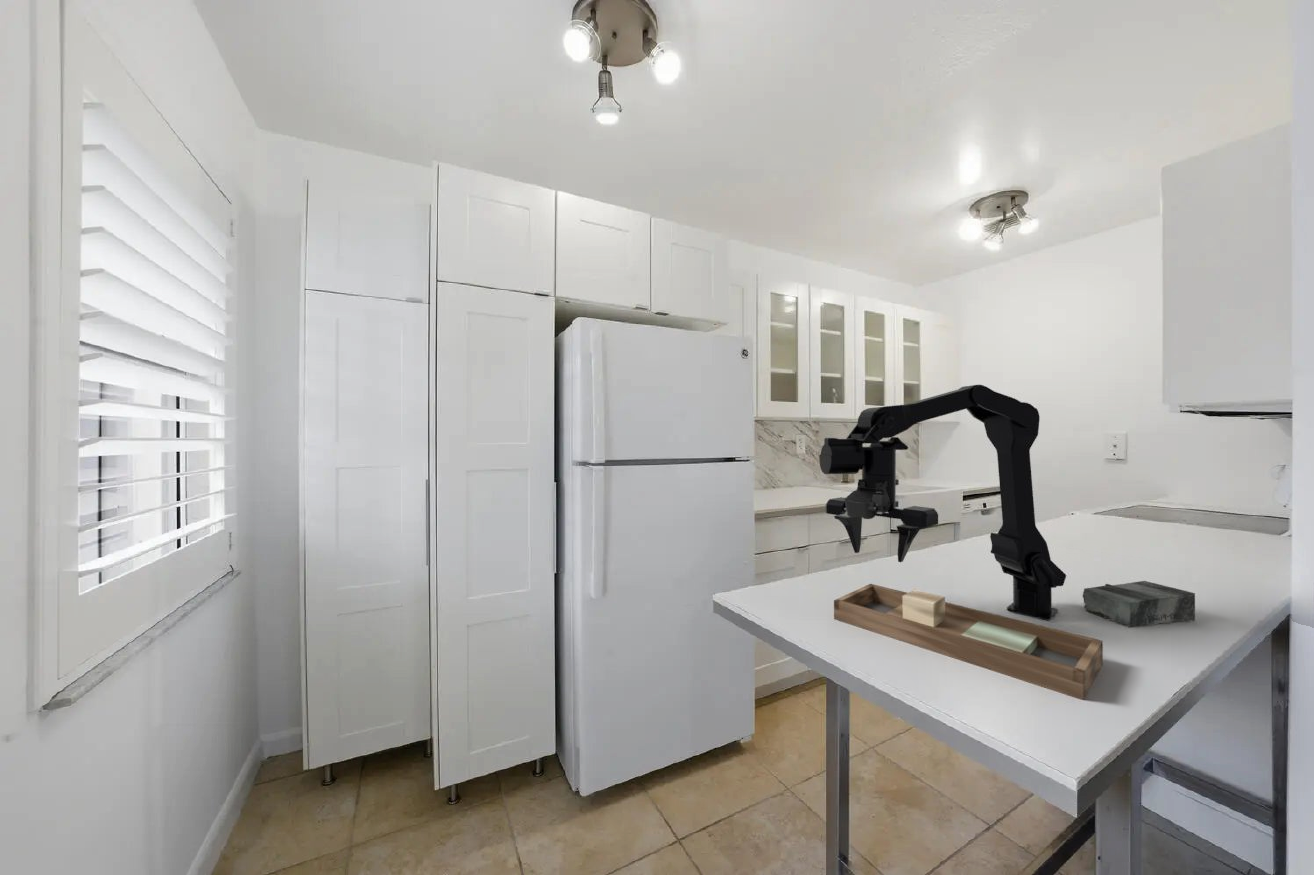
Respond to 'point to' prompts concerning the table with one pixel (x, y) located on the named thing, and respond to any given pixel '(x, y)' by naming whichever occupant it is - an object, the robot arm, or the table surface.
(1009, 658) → the tray
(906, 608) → the beech block
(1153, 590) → the stone block
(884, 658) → the table surface
